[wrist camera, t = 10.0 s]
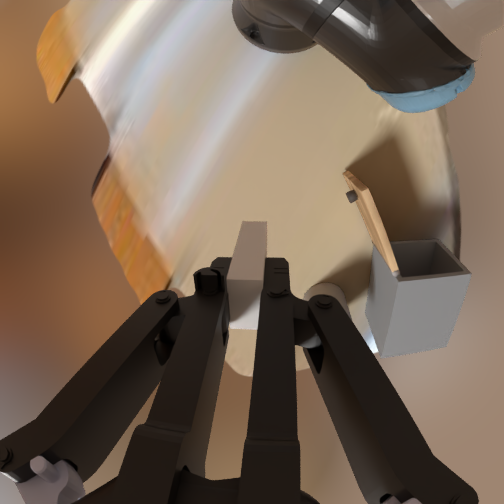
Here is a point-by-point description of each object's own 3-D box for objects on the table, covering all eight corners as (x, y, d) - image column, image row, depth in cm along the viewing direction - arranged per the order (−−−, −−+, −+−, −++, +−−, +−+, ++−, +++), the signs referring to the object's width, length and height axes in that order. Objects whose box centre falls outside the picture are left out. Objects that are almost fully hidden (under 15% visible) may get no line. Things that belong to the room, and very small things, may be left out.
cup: (298, 287, 54) (302, 322, 46) (341, 278, 53) (352, 311, 44) (307, 320, 58) (310, 356, 49) (346, 312, 56) (355, 346, 48)
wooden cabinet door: (366, 248, 49) (386, 281, 39) (334, 176, 44) (351, 196, 34) (379, 242, 48) (400, 274, 38) (348, 170, 43) (369, 187, 33)
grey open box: (373, 242, 49) (398, 281, 38) (437, 239, 47) (471, 273, 36) (365, 312, 56) (380, 358, 45) (423, 306, 55) (446, 346, 43)
